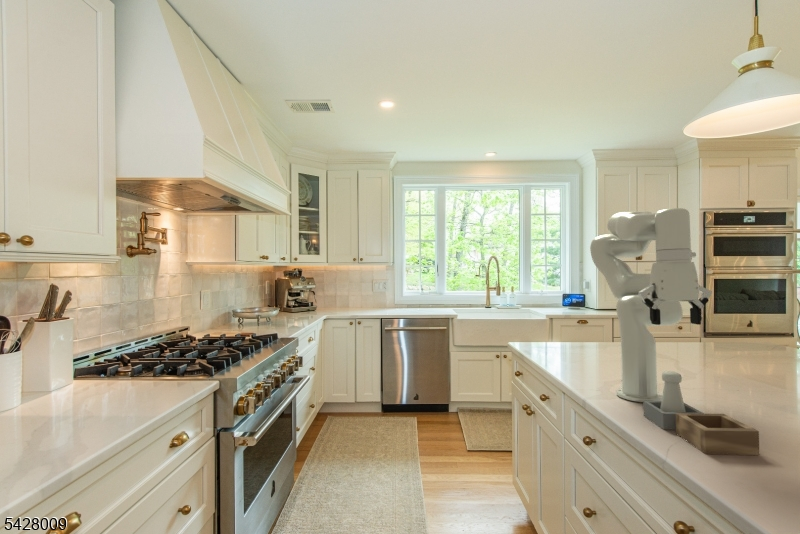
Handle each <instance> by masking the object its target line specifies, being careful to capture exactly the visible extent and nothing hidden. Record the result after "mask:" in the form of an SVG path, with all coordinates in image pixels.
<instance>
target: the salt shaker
mask: <svg viewBox="0 0 800 534" xmlns="http://www.w3.org/2000/svg"><path fill="white" fill-rule="evenodd" d="M661 379H662V381H663V382H664V384H663V391H662V402H661V407H660V409H661V410H662V411H664V412H686V410H685V406H684V403H685V402H684V400H683V395H682V391H681V387H680V384H681V383H682V379H683V377H682V374H681V373H680V372H676V371H671V370H670V371H667V370H666V371H663V372H662V374H661Z"/></svg>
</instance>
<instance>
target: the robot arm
mask: <svg viewBox="0 0 800 534" xmlns="http://www.w3.org/2000/svg"><path fill="white" fill-rule="evenodd" d="M690 217H691V216H690V211H689V209H686V208H682V207H681V208H679V207H675V208H674V207H673V208H665V209H660V210H658V211H656V212H652V211H647V210H646V211H621V212H617V213H614V214H613V215H612V216H611V217H609V219H608V221H607V229H608V232H609V234H602V235H599V236H596V237H594V238H593V239H592V240H591V243H590V247H589V250H590V256H591V259H592V262H593V264H594V265H595V267H596V269H598V271H599V272H600V273H601V274H602V276H603V277H604V278H605V280H606V283H607V285H608V287H609V288H610V291H611V292H612V295H613V296H614V298H615V299H616V300H617V302H616V306H615V307H616V309H615V310H616V315H617V319H618V324H619V333H620V334H619V337H620V361H621V362H620V363H621V365H620V366H621V381H620V382H621V387H620V388H618V389H617V390H616V396H618V397H620V399H624V400H627V401H631V402H638V403H643V401H662V395H663V393H660V392H658V368H657V367H658V366H657V343H656V339H655V336H654V335H653V333H652V332H650V330H649V329H648V328H647V327H651V326H653V327H654V326H658V327H659V326H662V327H664V326H674V325H677V324H678V323H680V322H681V320H682V319H683V308H682V305H681V302H687V303H688V304H689V305H690V306H691V307H689V318H690V319H689V320H690V321H689V322H690V324H693V325H701V324H702V318H703V317H702V313H703V312H702V309H704V307H705V305H707V303H709V299H710V297H711V295H712V294H713V292H712V290H711V289H708V288H706V287H704V286H702V285H700V284H699V278H698V272H697V268H696V265H695V262H694V261H692V260H693V258H696V256H697V253H696V252H693V251H692V243H691V241H692V239H691V218H690ZM653 241H655V262H653V263H652V264H651V270H650V271H651V272H650V273H636V272H634V271H633V270H632V268H631V267H630V266H629V265H628V264H627V263H626V262H625V261H624V260H621V259H622V258H638V257H642V256H643V255H644V254H645V252H646V251H647V250H648V248H649V247H650V244H651V242H653ZM619 258H620V259H619ZM700 293H701V296H700Z"/></svg>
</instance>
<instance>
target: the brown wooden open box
mask: <svg viewBox="0 0 800 534" xmlns="http://www.w3.org/2000/svg"><path fill="white" fill-rule="evenodd" d="M675 434H676V435H677V434H678V435H679V436H678V435H677V436H678V437H680V436H681V437H682V438H681V437H680V438H681V439H683V438H684V439H685V440H687V441H688V442H689V444H690V443H691V444H692V446H693V445H694V446H695V447H694V446H693V447H694V448H696V447H697V448H698V449H697V448H696V449H697V450H699V451H700V450H701V451H700V452H702V453H703V454H705V455H731V454H733V456H735V455H737V456H739V455H741V456H742V455H743V456H744V455H746V456H747V455H749V456H760V455H761V454H760V431H759V430H757V429H755V428H754V427H751V426H749V425H747V424H745V423H743V422H741V421H739V420H737V419H735V418H733V417H731V416H729V415H727V414H725V413H704V414H697V413H676V430H675ZM684 439H683V440H684ZM685 440H684V441H685ZM687 441H686V442H687ZM688 442H687V443H688ZM691 444H690V445H691Z"/></svg>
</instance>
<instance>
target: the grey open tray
mask: <svg viewBox="0 0 800 534" xmlns="http://www.w3.org/2000/svg"><path fill="white" fill-rule="evenodd" d="M661 402H662V401H643V402H642V404H643V417H644V416H645V419H647V418H648V419H647V420H649V421H650V420H651V421H650V422H652V423H653V422H654V423H655V426H657V425H658V426H657V427H659V428H660V427H661V428H660V429H662V430H663V429H676V413H697V414H705V413H704V412H702V411H700V410H698V409H697V408H695V407H693V406H691V405H689V404H687V403H685V402H684V406H685V410H686V412H664V411H662V410H661V409H660V407H661ZM654 423H653V424H654Z"/></svg>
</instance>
